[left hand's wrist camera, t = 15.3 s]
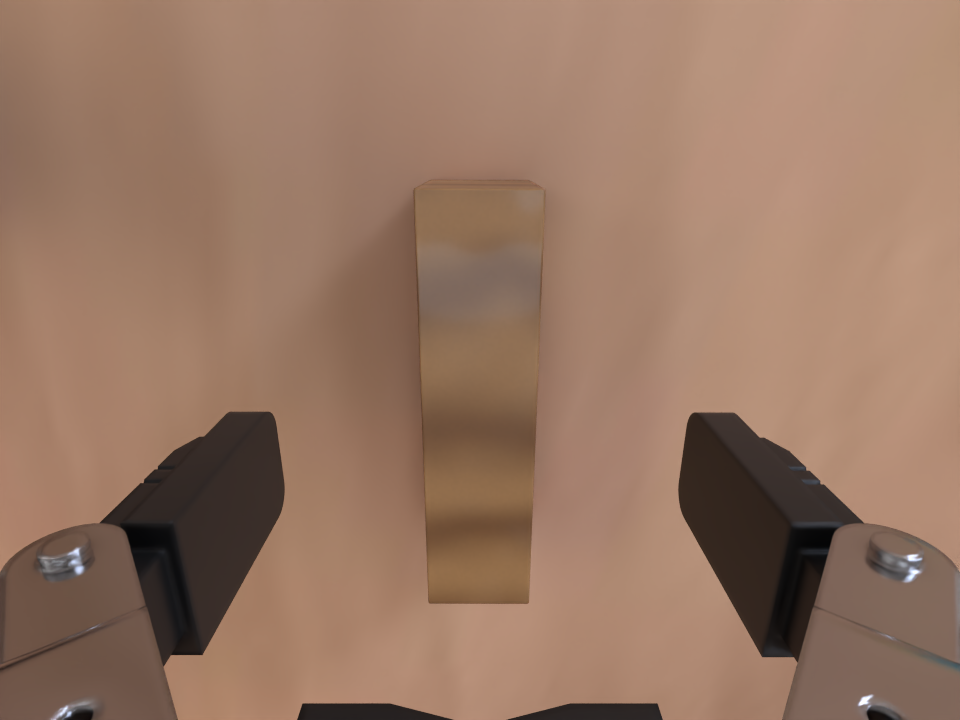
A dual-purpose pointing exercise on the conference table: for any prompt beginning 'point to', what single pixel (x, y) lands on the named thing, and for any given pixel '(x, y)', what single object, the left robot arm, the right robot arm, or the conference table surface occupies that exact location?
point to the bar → (479, 382)
